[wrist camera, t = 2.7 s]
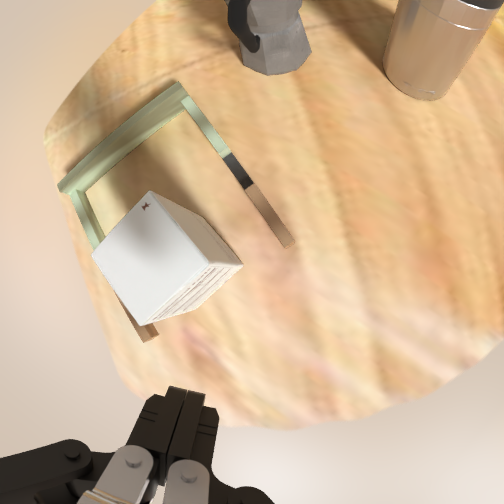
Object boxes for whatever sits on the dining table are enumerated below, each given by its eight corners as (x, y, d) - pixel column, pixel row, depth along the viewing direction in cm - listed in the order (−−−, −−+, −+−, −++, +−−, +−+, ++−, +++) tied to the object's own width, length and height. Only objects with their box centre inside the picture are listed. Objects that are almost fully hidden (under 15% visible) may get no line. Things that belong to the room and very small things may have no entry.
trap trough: (75, 191, 38) (57, 184, 34) (189, 97, 36) (178, 81, 32) (151, 339, 35) (134, 346, 31) (295, 242, 33) (293, 237, 29)
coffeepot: (250, 14, 36) (220, -84, 18) (318, 20, 34) (313, -85, 17) (222, 101, 36) (164, -3, 18) (301, 110, 34) (289, -6, 16)
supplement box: (155, 260, 36) (86, 252, 23) (203, 215, 35) (149, 185, 23) (195, 311, 34) (138, 329, 22) (246, 266, 34) (211, 262, 21)
